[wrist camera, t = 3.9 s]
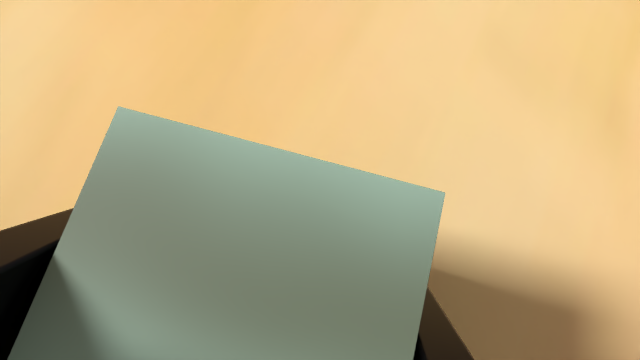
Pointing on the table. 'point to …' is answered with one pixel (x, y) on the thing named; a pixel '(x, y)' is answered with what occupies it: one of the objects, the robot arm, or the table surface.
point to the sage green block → (231, 255)
